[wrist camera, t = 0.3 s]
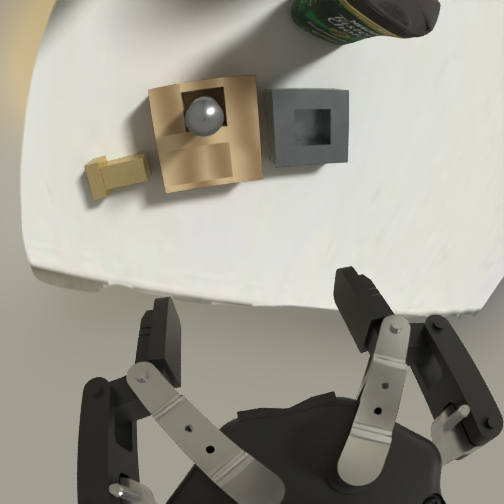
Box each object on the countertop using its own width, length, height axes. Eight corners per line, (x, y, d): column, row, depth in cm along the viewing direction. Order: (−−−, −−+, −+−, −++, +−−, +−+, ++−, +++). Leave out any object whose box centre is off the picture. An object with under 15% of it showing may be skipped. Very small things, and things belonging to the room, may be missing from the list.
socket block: (170, 179, 38) (166, 193, 34) (155, 88, 30) (147, 89, 26) (255, 167, 39) (262, 179, 35) (248, 75, 31) (255, 74, 27)
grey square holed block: (265, 89, 33) (271, 89, 30) (335, 88, 34) (348, 90, 30) (269, 159, 38) (276, 167, 35) (335, 154, 39) (347, 162, 36)
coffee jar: (282, 24, 28) (347, -14, 13) (302, -18, 24) (371, -68, 9) (345, 54, 31) (437, 52, 16) (362, 13, 27) (454, -4, 12)
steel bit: (190, 96, 31) (182, 103, 20) (215, 92, 31) (221, 97, 21) (193, 120, 33) (187, 139, 22) (218, 116, 33) (225, 133, 23)
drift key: (92, 158, 34) (84, 166, 31) (145, 145, 34) (140, 151, 32) (101, 190, 37) (94, 200, 34) (152, 179, 37) (148, 188, 35)
